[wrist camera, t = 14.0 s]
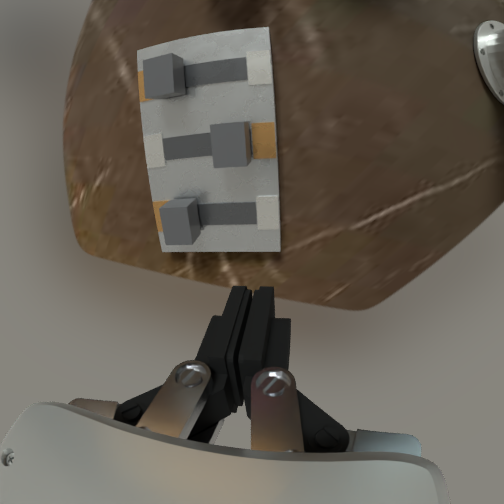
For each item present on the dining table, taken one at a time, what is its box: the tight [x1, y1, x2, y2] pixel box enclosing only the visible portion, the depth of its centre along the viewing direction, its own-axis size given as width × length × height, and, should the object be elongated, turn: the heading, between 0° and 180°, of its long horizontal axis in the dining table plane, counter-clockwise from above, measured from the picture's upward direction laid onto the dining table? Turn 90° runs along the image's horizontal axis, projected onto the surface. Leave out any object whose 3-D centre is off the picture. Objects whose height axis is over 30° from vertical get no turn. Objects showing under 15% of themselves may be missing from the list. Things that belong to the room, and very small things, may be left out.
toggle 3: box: [210, 121, 251, 168], centre depth 25 cm, size 3×4×3 cm
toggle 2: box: [159, 198, 201, 245], centre depth 29 cm, size 3×4×3 cm
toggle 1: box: [143, 53, 186, 99], centre depth 22 cm, size 3×4×3 cm
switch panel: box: [137, 27, 281, 252], centre depth 28 cm, size 14×24×2 cm, turn 3°
